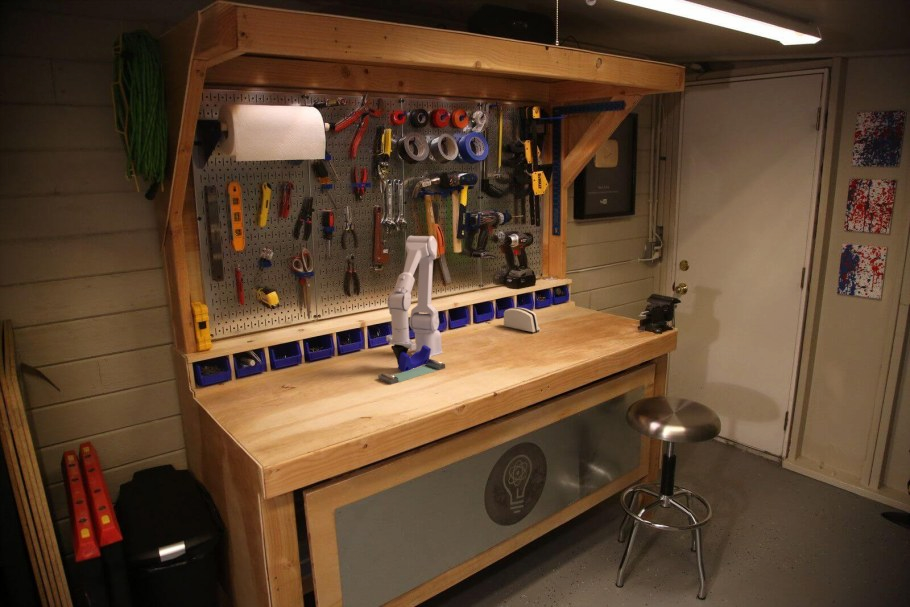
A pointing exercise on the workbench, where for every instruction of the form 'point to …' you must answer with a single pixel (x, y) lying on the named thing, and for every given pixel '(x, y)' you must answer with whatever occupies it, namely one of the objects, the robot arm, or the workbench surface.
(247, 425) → the workbench surface
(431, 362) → the chain end
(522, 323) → the white rounded dark-edged part
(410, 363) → the blue curved cradle
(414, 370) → the pad
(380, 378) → the block
